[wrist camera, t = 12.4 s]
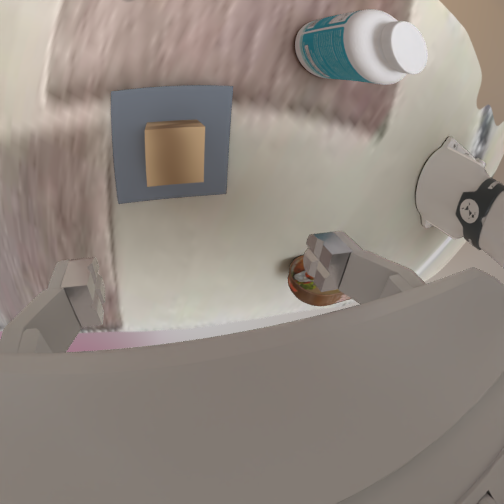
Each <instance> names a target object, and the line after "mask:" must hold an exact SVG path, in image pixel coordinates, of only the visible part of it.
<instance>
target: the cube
mask: <svg viewBox="0 0 504 504" xmlns="http://www.w3.org/2000/svg"><path fill="white" fill-rule="evenodd" d="M204 148H205V126H204V125H203V124H202V123H200V122H199V121H198V120H175V121H159V122H147V124H146V127H145V157H146V176H147V187H151V186H161V185H172V184H184V183H197V182H204Z"/></svg>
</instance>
